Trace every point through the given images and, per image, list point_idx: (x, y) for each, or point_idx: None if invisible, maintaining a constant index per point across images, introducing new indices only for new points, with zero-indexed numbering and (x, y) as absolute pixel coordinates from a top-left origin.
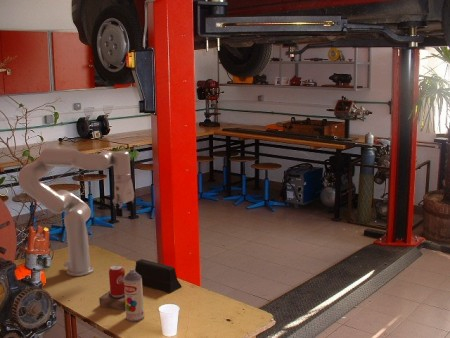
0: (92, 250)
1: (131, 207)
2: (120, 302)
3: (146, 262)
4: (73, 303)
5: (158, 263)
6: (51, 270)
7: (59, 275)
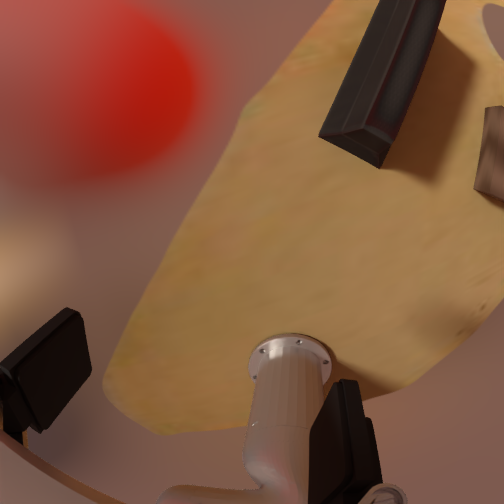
0: (128, 375)
1: (57, 352)
2: None
3: (404, 88)
4: (500, 288)
5: (404, 35)
6: None
7: None
